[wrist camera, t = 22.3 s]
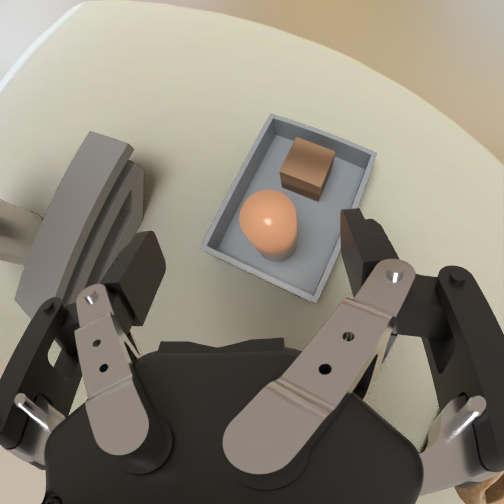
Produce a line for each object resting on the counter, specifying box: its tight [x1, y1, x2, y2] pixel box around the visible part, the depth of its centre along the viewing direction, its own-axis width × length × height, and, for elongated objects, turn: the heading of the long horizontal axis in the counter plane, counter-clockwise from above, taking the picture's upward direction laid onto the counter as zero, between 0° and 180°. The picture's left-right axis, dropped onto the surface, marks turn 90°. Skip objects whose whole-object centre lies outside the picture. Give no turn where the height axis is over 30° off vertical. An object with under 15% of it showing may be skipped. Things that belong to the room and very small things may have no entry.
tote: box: [200, 114, 377, 303], centre depth 35 cm, size 19×14×5 cm
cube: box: [279, 137, 336, 202], centre depth 35 cm, size 5×5×5 cm
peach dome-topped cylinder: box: [239, 190, 298, 262], centre depth 31 cm, size 5×5×11 cm
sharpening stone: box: [15, 131, 144, 319], centre depth 36 cm, size 25×8×11 cm, turn 153°
